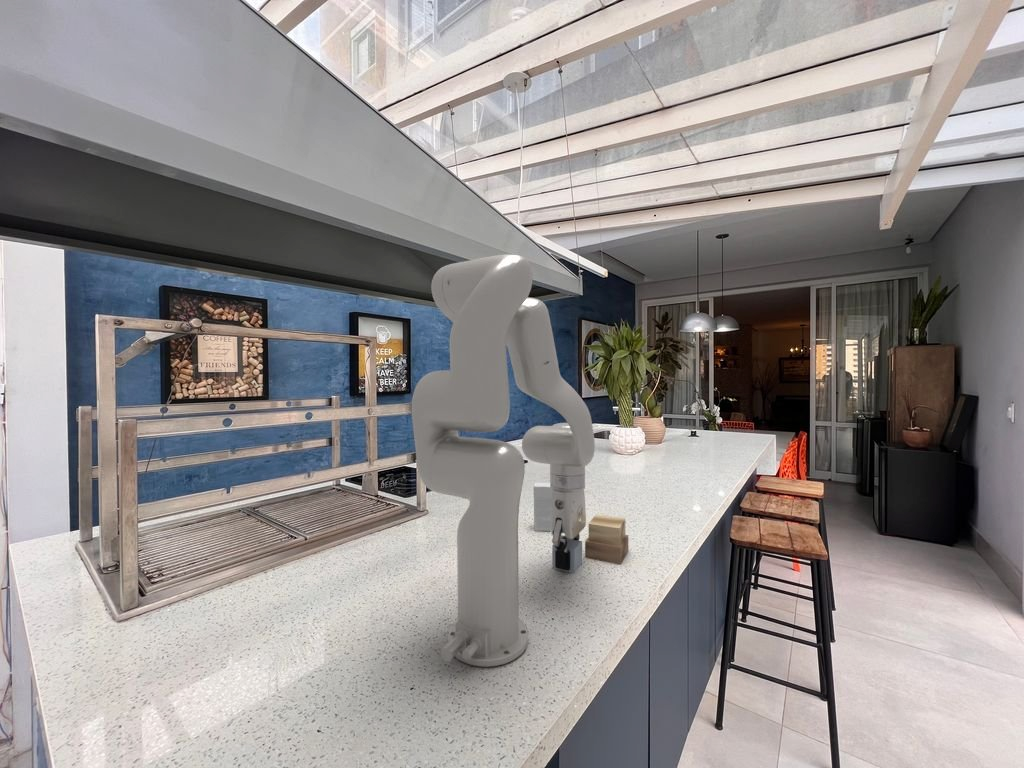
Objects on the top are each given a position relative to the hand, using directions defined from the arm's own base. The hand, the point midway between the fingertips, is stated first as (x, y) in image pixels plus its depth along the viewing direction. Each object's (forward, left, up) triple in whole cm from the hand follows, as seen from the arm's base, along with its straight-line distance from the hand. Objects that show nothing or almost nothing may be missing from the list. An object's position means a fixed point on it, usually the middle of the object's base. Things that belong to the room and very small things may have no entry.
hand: (567, 562), depth 92 cm
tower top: (+10, -6, +3) cm, 12 cm away
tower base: (+10, -6, -1) cm, 12 cm away
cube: (0, 0, -1) cm, 1 cm away
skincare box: (+18, +13, -1) cm, 22 cm away
